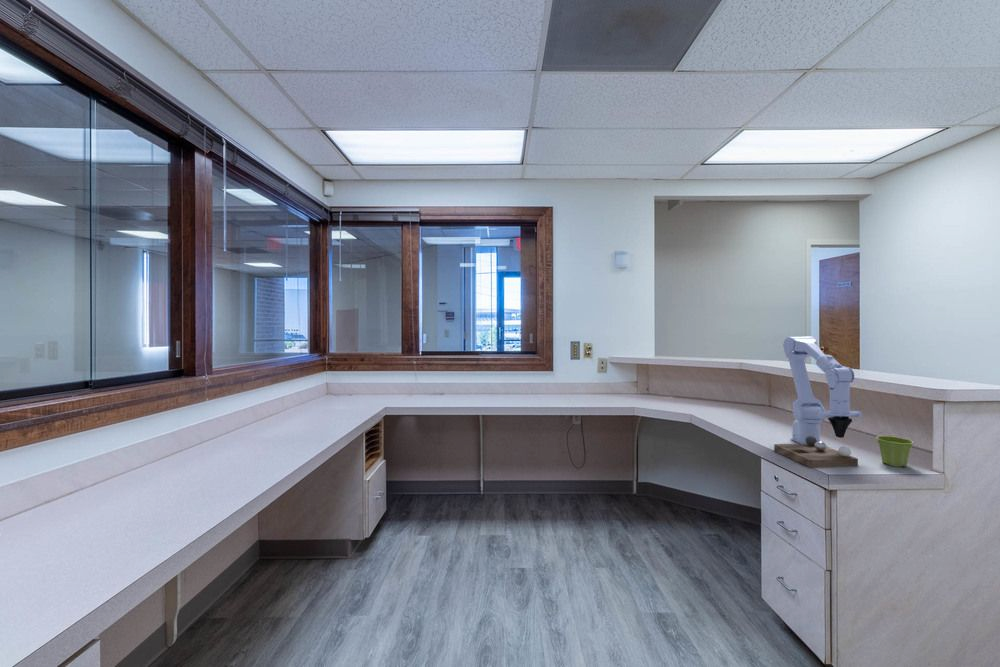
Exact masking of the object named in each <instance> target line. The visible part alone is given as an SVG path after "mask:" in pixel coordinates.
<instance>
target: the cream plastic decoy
mask: <svg viewBox="0 0 1000 667" xmlns="http://www.w3.org/2000/svg"><path fill="white" fill-rule="evenodd" d="M837 451H838V452H839V454H840V455H841V456H844V457H848V456H851V455H852V451H851V448H850V447H848V446H839V448H838V449H837Z"/></svg>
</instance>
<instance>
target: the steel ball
mask: <svg viewBox="0 0 1000 667" xmlns="http://www.w3.org/2000/svg"><path fill="white" fill-rule="evenodd" d="M814 446H815V448H816V449H817V450H818V451H824V450H825V449H826V446H827V445H826V443H825V441H824V442H823V441H821V440H820V441H818V442H816V443H815V445H814Z"/></svg>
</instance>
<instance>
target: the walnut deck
mask: <svg viewBox="0 0 1000 667" xmlns="http://www.w3.org/2000/svg"><path fill="white" fill-rule="evenodd" d="M773 446H774V447H773V448H774V449H773V451H774V450H775V451H774V452H776V451H777V453H778V452H779V454H781V453H782V454H781V455H783V454H784V455H783V456H785V455H786V456H785V457H787V456H788V457H787V458H789V457H790V458H789V459H791V460H793V461H795V462H797V463H799V464H802V465H804V466H806V467H808V468H823V467H827V468H829V467H832V468H833V467H857V466H859V459H858V458H857V457H854V456H851V455H850V456H848V457H844V456H841V455H840V454H839V452H838V449H837V450H836V449H834V448H832V447H828V446H827V445H826V449H825V450H824V451H818V450H817V449H816V448H815V446H814V445H813V446H811V445H808V444H807V443H802V444H801V443H775V444H773Z"/></svg>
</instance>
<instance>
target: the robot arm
mask: <svg viewBox="0 0 1000 667" xmlns="http://www.w3.org/2000/svg"><path fill="white" fill-rule="evenodd" d="M782 345H783V350H784V353H785V358H787V359H788V362H789V367H790V371H791V374H792V379H793V383H794V386H795V390H796V394H797V398H796V399H795V400H794V401H793V402H792V416H793V417H794V419H795V420H793V422H792V425H791V426H792V427H791V428H792V429H791V430H792V432H791V433H792V434H791V435H792V437H790V438H789V439H790V440H791V441H794V442H795V443H797V444H802V443H806V438H807V437H808V436H813V437H815V438H816V440H817V442H818V441H821V424H822V423H823V421H824V420H825V419H827V420H828V421H829V423H830V424H831V427H832V428H833V432H834V434H835V437H837V438H840V439H841V438H844V437H845V434H846V431H847V429H848V427H849V426H850V425H851V423H852V422H853V419H852V418H862V416H863V415H862V414H863V412H862V411H858V410H851V398H850V397H851V384H852V383H853V382H854V380H855V373H854V371H853V369H852V368H851V367H849V366H843V365H842V364H841V363H839V362H838V360H836V359H835V358H834V356H833V355H830V354H825V353H824V352H823V351H822V350H821V348H820V347H819V346H818V342H817V339H815V337H813V336H811V335H808V336H786V338H785V339H784V341H783V344H782ZM810 356H811V357H812V359H814V360H815V363H816V364H815V365H816V366H817V367H818V368H819V369H820V370H821V371H822V372H823V374H825V379H826V381H827V386H828V388H829V410H826V409H825V408H824V406H823V403H822V401H820V400H819V399H818V398H817V397H815V396H814V393H813V390H812V386H811V382H810V378H809V374H808V371H807V367H806V363H805V360H806V358H809V357H810Z"/></svg>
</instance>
